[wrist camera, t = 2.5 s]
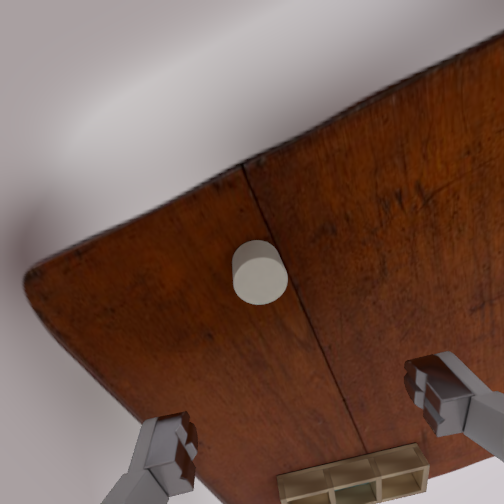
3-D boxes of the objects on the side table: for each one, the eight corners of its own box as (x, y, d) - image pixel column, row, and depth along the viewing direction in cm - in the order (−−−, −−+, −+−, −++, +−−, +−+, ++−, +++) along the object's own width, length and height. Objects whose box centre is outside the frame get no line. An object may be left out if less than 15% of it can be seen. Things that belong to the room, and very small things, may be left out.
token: (238, 286, 20) (240, 310, 18) (226, 246, 19) (226, 265, 16) (283, 276, 20) (291, 298, 18) (274, 234, 19) (283, 251, 16)
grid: (285, 500, 35) (289, 524, 33) (276, 475, 32) (280, 500, 30) (413, 469, 35) (426, 491, 33) (416, 442, 32) (430, 465, 30)
